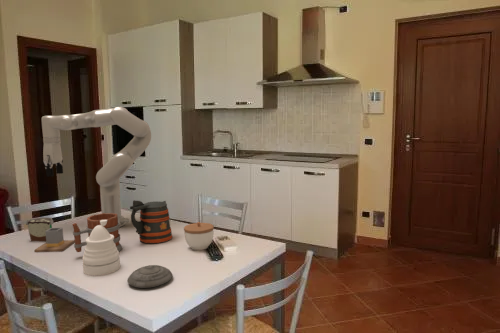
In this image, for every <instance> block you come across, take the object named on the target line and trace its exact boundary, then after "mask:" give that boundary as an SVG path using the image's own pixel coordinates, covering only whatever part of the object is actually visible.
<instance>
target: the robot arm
mask: <svg viewBox="0 0 500 333" xmlns="http://www.w3.org/2000/svg"><path fill="white" fill-rule="evenodd" d="M114 125H117V126H118V127H120V128H121V129H123V130H125V131H126V132H128V133H129V134H131V135H132V136H133V138H132V139H131V140H130V141H129V142H128V143H127V144H126V145H125V147H123V148H122V149H120V151H118V152H117V153H115V154H114V155H113V156H112V157H111V158H110V159H109V160H108V161H107V162H106V163H105V164H104V165H103V166H102V167H101V168H100V169H99V170H98V171H97V173H96V175H95V179H96V180H95V181H96V183H97V184H98V185H99V191H100V192H99V193H100V205H101V206H100V209H101V214H102V213H113V214H117V217H118V222H119V225H120V228H122V227H123V226H125V225H126V223H130V222H131V218H129V217H125V218H124V215H122V203H121V189H120V186H121V184H120V183H121V182H120V178H122V176H123V175H124V174H125V173H126V172H127V171H128V170H129V169H130V168H131V167H132V166H133V164H134V163H135V162H136V161H137V159H138V158H139V157H141V155H142V154H143V153H144V152H145V151H146V150H147V149H148V147H149V145H150V143H151V140H152V130H151V128H150V125H149V124H148V123H147V122H146V120H143V119H140V117H137V116H136V115H135V114H133V113H131V112H130V111H128V109H127V108H125V107H123V106H115V107H110V108H103V109H100V108H99V109H94V110H92V111H91V110H90V111H89V112H85V113H76V114H62V115H44V116H42V117H41V129H42V137H43V138H42V142H43V148H42V149H43V150H42V151H43V152H42V153H43V154H42V155H43V156H42V157H43V160H42V161H43V164H44V168H45V172H46V173H45V174H46V177H48V178H49V177H54V168H53V166H54V165H55V173H56V174H58V175H59V174H64V167H63V166H64V163H63V162H64V160H63V159H64V156H63V153H62V147H61V144H62V142H61V133H60V132H61V131H70V130H78V129H86V128H87V129H88V128H100V127H108V126H114Z"/></svg>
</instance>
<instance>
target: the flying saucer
mask: <svg viewBox="0 0 500 333" xmlns="http://www.w3.org/2000/svg"><path fill="white" fill-rule="evenodd" d="M172 278H173V273H172V272H171V270H170V269H169V268H167V267H165V266H163V265H158V264H150V265H145V266H144V265H143V266H141V267H139V268H137V269H136V270H133V272H131V274H129V276H128V278H127V283H128V284H129V285H130V286H131V287H134V288H141V289H143V288H144V289H145V288H146V289H147V288H148V289H149V288H155V287H158V286H162V285H164V284H166V283H169V281H170V280H171V279H172Z"/></svg>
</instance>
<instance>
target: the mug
mask: <svg viewBox="0 0 500 333" xmlns="http://www.w3.org/2000/svg"><path fill="white" fill-rule="evenodd" d="M86 220H87V221H86V222H87V226H86V227H85V229H81V228H80V227H79V225H78V223H72V228H73V231H72V236H73V237H74V239H73V240H75V243H74V244H73V248H74V250H75V251H76V253H80V252H82V248H83V247H84V246H85V247H86V245H87V243H86V241H83V242H82V238H81V235H82V234H88V236H87V238H88V237H89V236H90V234H91V232H92V230H93V229H94V228H95V227H96V226H97V225H101V224H100V221H101V220H107V224H106V225H105V226H103V227H105V228H106V230H107V231H108V232H109V234H112V235H114V239H113V241H114V243H115V244H116V247H117V250H118V252H119V253H120V251H121V250H122V249H123V246H122V244H121V243H120V241H121V234H120V233H119V230H120V228H121V227H120V225H119V222H118V217H117V214H113V213H102V212H101V213H98V214H93V215H90V216H88V217H87V218H86Z"/></svg>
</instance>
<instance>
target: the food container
mask: <svg viewBox="0 0 500 333" xmlns="http://www.w3.org/2000/svg"><path fill="white" fill-rule="evenodd" d="M25 224H26V226H27V229H28V236H29V239H30V242H31V243H32V242H33V243H35V242H36V243H37V242H38V243H39V242H40V243H46V233H45V231H47V230H48V229H50V228H53V225H54V219H53V218H52V217H36V218H31V219H27V220H26V222H25Z"/></svg>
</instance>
